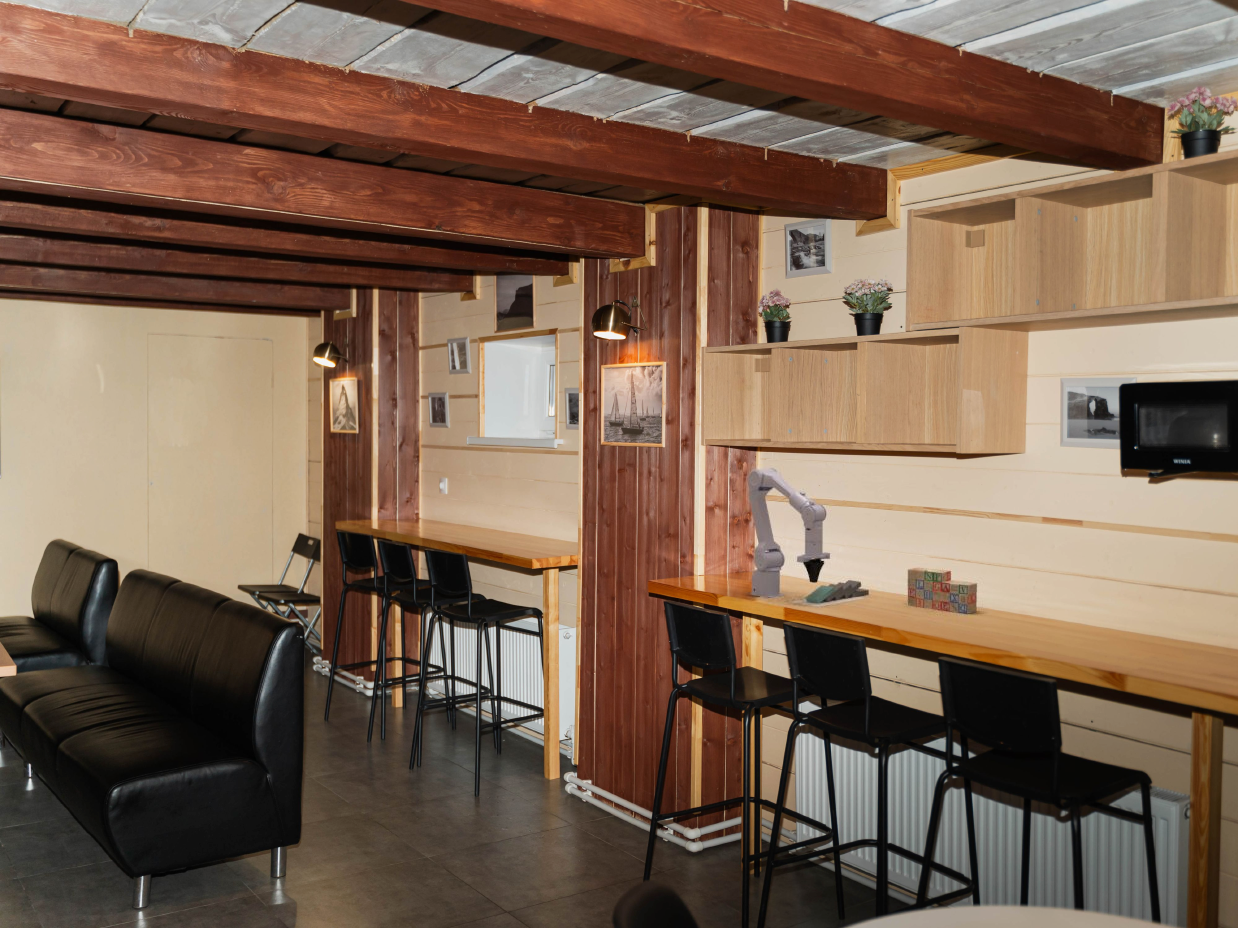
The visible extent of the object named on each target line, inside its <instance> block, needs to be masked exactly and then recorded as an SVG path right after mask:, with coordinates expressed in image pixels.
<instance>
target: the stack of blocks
mask: <svg viewBox="0 0 1238 928" xmlns="http://www.w3.org/2000/svg"><path fill="white" fill-rule="evenodd" d="M977 593H978V583H976V582H971V581H969V582H968V581H964V580H963V581H961V580H952V571H951V570H944V569H937V568H924V567H913V568H909V569H907V606H908V607H915V608H922V609H928V610H934V611H935V610H936V611H942V612H949V613H957V614H962V615H963V614H964V615H968V614H971V613H976V612H977V602H978V601H977V599H978V597H977Z"/></svg>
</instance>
